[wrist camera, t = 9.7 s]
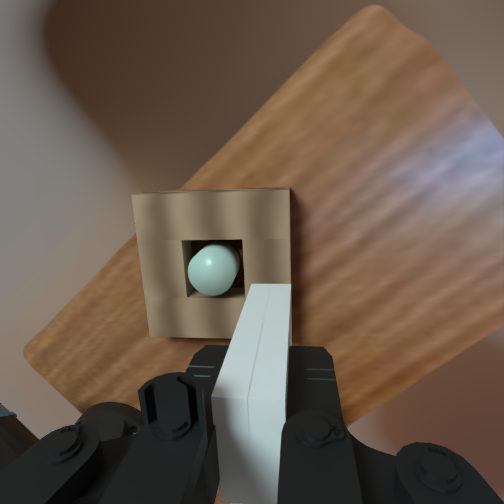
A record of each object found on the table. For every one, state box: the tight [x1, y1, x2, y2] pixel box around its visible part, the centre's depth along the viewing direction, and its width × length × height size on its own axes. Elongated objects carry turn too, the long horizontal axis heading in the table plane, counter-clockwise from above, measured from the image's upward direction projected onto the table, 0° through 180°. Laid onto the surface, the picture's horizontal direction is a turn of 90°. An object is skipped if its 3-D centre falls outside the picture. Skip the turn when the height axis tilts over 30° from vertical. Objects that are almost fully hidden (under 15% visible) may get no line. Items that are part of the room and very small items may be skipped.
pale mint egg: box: [188, 241, 240, 296], centre depth 47 cm, size 6×6×5 cm
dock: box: [132, 187, 292, 339], centre depth 48 cm, size 20×20×4 cm
